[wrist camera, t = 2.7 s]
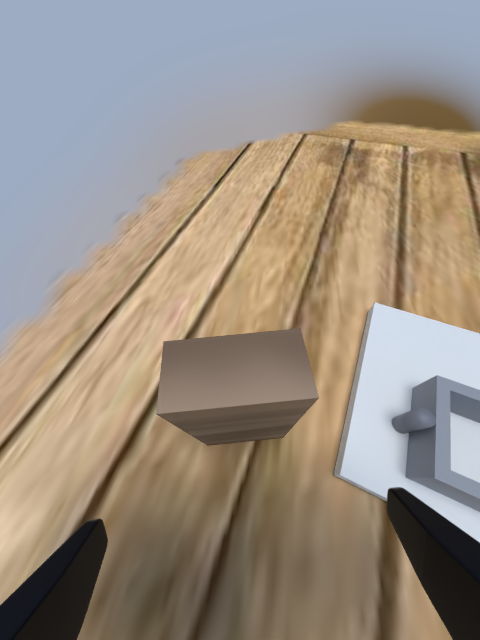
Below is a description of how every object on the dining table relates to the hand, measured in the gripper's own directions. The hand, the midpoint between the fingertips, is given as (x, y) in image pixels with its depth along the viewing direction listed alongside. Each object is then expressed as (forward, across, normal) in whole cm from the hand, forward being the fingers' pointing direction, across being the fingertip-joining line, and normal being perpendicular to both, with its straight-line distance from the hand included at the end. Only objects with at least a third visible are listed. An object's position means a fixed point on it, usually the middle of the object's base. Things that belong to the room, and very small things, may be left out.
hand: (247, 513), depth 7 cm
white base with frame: (+10, -18, +6) cm, 22 cm away
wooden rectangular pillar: (+11, 0, +5) cm, 12 cm away
